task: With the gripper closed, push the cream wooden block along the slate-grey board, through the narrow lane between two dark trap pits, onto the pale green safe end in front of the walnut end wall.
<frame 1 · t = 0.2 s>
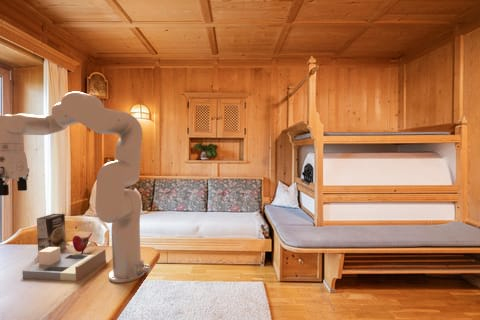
hand: (13, 192, 105), 30 cm above the table, tool pointing down, fingers open, 9 cm apart
cream block: (50, 261, 107), point 2 cm above the table, touching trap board
decorative bird figurine: (83, 253, 122), on the table
coffee box: (52, 251, 125), on the table
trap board: (66, 268, 106), on the table
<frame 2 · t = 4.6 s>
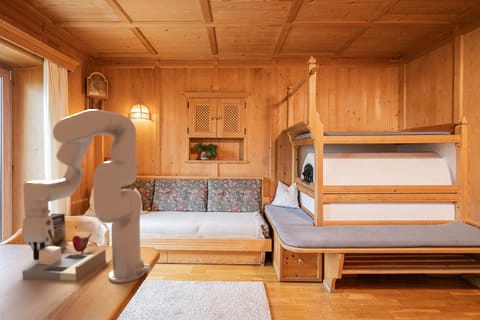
hand: (38, 258, 108), 4 cm above the table, tool pointing down, fingers closed
cream block: (50, 261, 107), point 3 cm above the table, touching gripper, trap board
everything else where it was.
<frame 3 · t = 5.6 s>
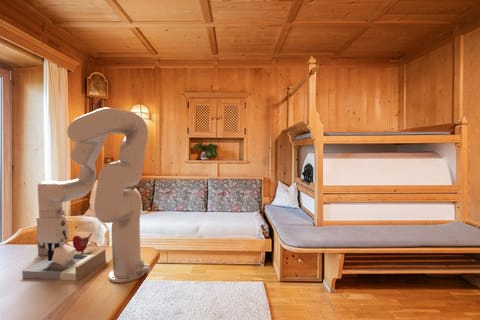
hand: (53, 259, 107), 4 cm above the table, tool pointing down, fingers closed
cream block: (62, 260, 106), point 3 cm above the table, tilted 20°, touching gripper
everything else where it was.
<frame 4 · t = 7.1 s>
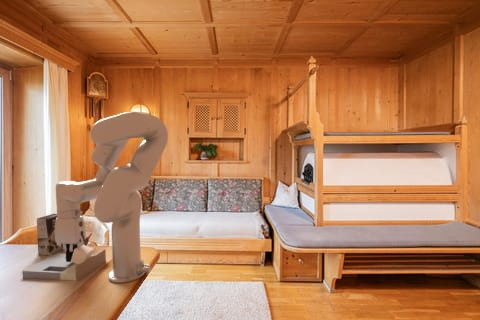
hand: (71, 260, 106), 3 cm above the table, tool pointing down, fingers closed
cream block: (80, 260, 106), point 3 cm above the table, tilted 20°, touching gripper, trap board
everything else where it was.
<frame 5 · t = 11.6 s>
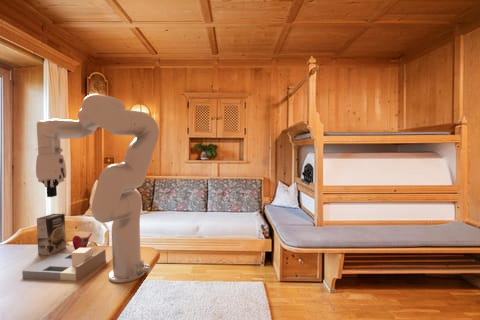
hand: (52, 196, 112), 27 cm above the table, tool pointing down, fingers closed
cream block: (82, 262, 106), point 2 cm above the table, touching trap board
everything else where it was.
at the end: cream block inside the target area on the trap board (0.6 cm from its centre), point 2.5 cm above the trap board's base; cream block tilted 0° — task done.
